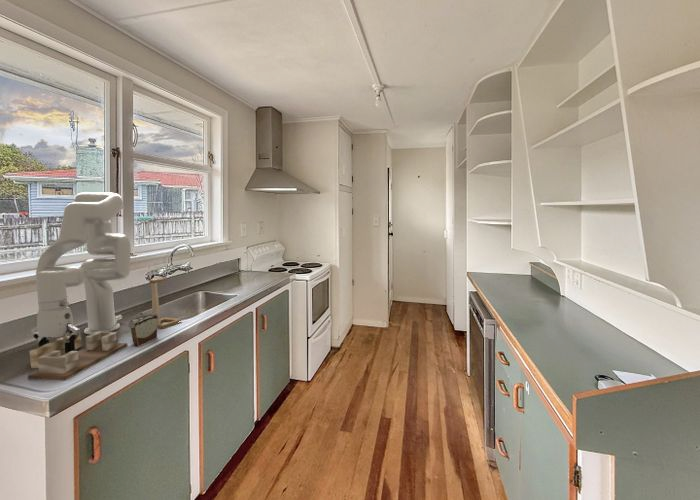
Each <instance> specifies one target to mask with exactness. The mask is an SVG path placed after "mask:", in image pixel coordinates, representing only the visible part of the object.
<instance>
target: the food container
mask: <svg viewBox="0 0 700 500" xmlns="http://www.w3.org/2000/svg"><path fill="white" fill-rule="evenodd" d="M158 318H159V317H158V314H153V313H146V314H141V315H137V316H134V317H131V318H130V319H129V321H128V324H127V326H128V328H130V333H131V337H132V344H133V346H134V347H137V348H139V347H141V346H144V345H145V343H146V344H147V343H149V342H152V341H154V340H155V339H158V329H157V321H158Z"/></svg>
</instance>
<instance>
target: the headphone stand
mask: <svg viewBox="0 0 700 500" xmlns="http://www.w3.org/2000/svg"><path fill="white" fill-rule="evenodd" d="M148 281H149V284H151V287H150V288H151V307H152V309H151V310H152V311H151V312H152V313H151V314H158V317H159V318H158V321H157V330H163V329H166V328H169V327H171V326H174V324H175V325H177V324H176V323H178V322H179V321H181V322H182V319H181V318H174V317H173V318H172V317H162V318H161V313H160V301H159V300H160V299H159V291H158V290H159V289H158V283H162V282H165V281H166V277H163V276H162V277H159V278H155V279H154V278H153V279H149V280H148ZM164 322H166V323H164ZM178 324H179V323H178Z"/></svg>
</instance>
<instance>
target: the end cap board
mask: <svg viewBox="0 0 700 500" xmlns="http://www.w3.org/2000/svg"><path fill="white" fill-rule="evenodd" d="M85 344H86V346H85V348H82V349H80V350H79V351H78V350H75V351H71V352H68V353H66V354H64V355H62V356H61V354H60V351H52V352H50V353H48V354H45V355H43V356H41V357H38V366H39V368H38V370H37V371H34V372H32V373H30V374H28V375H27V376H28V377H27V378H28V380H53V381H54V380H56V381H59V380H60V381H66V379H67V380H68V379H70V378H73V376H75V375H77V374H79V373H81V372H82V371H85V370H86V369H89V368H90V367H92V366H94V365H95V364H98V363H99V362H101V361H103V360H105V359H107V358H108V357H110V356H112V355H114V354H116V353H117V352H119V351H121V350H123V349H125V348H126V347H128V343H126V342H125V343H124V342H120V339H119V331H111V332H96V333H93V334H88V335H87V336H85Z"/></svg>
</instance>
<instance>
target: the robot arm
mask: <svg viewBox="0 0 700 500" xmlns="http://www.w3.org/2000/svg"><path fill="white" fill-rule="evenodd" d="M123 207H124V200H123V198H122V196H121V195H120V194H118V193H114V192H99V191H98V192H90V191H88V192H87V191H85V192H79V193H78V194H75V196H74V201H73V202H71V203H68V204H67V205H66V206H65V208H64V211H63V215H62V221H61V225H60V231H59V235H58V238H57V239H56V241H54V242H53V243H52V244H51V245H49V246H48V247H47V248H46V249H45V250H44V251H43V252H42V254H41V255H40V256H39V259H38V261H37V267H36V271H35V283H36V292H37V293H36V295H37V305H38V306H37V307H38V310H37V315H36V326H34V327H33V328H31V329H30V332H31V334H32V335H33V337H34V339H35V341H36V343H38V347H41V346H43V345H45V344H47V343H50V340H49V338H56V339H59V338H61V337H62V338H63V339H64V340H65V341H66V343H65V353H68V352H71V351H76V350H75V343H74V340H76V338H77V337H78V334H79V332H80V333H81V328H78V327H77V326H75V321H74V317H73V312H72V309H71V307H69V305H70V303H69V301H68V298H67V296H68V295H67V288H74V287H79V286H80V285H84V292H85V294H84V295H85V304H86V315H87V326H88V327H86V328H84V329H83V333H84V334H86V335H91V334H93V333H96V332H115V330H118V329H120V327H121V325H120V323H118V321H119V320H121V319H123V315H121V314H119V315H115V312H116V311H115V304H114V303H115V301H114V290H113V287H112V285H111V284H110V283H109V282H108V281H122V280H126V279H127V278H128V277H129V274H130V273H131V272H130V271H131V255H132V254H131V250H132V249H131V248H132V247H131V246H132V245H131V241H130V239H129V237H128V236H127V235H126V234H123V233H112V222H111V221H112V220H113V218H114V217H115V216H117V215H118V214H119V213H120V212H121V211H122V209H123ZM85 245H86V251H87V253H88V254H89V255H90V256H96V257H97V256H98V257H100V256H102V257H103V256H114V258H91V259H87V260H85V261H83V262H82V263H81V265H80V266H56V263H57V262H58V260H59V259H60V258H61V257H62V256H63V255H65V254H66V253H68V252H71V251H74V250H75V249H78V248H81V247H83V246H85ZM72 333H73V334H72ZM67 336H69V337H70V338H68V337H67Z"/></svg>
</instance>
